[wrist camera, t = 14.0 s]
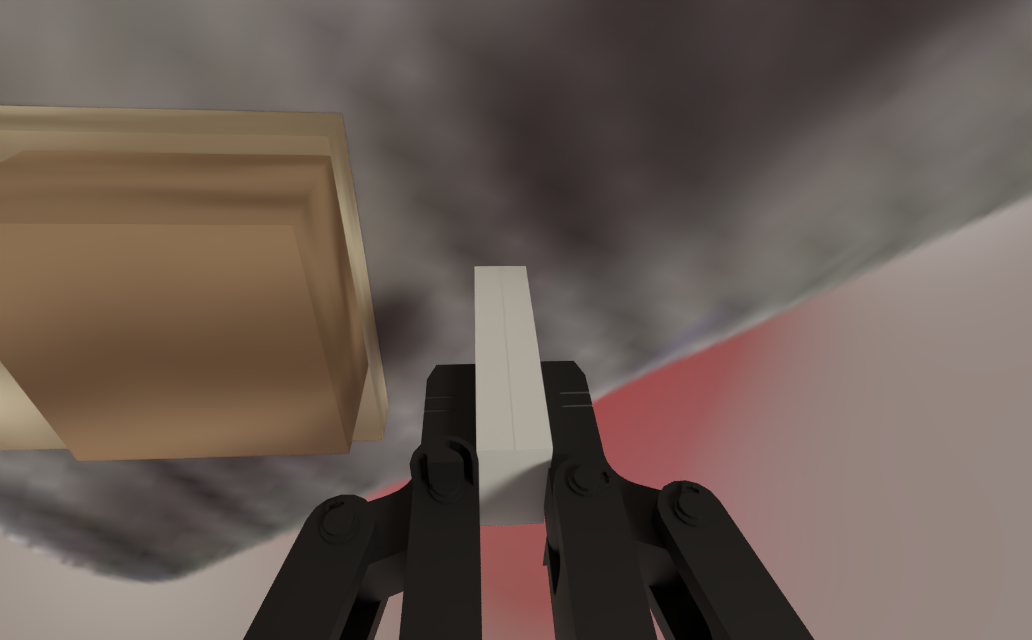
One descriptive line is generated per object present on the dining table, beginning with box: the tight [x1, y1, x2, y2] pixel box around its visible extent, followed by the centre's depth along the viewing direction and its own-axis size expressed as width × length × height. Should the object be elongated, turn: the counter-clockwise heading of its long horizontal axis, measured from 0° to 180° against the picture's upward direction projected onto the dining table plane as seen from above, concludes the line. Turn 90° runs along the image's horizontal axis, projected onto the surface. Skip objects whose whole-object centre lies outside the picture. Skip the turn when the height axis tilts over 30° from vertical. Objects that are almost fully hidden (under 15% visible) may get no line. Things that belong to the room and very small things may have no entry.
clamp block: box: [0, 151, 369, 461], centre depth 15 cm, size 8×8×4 cm
